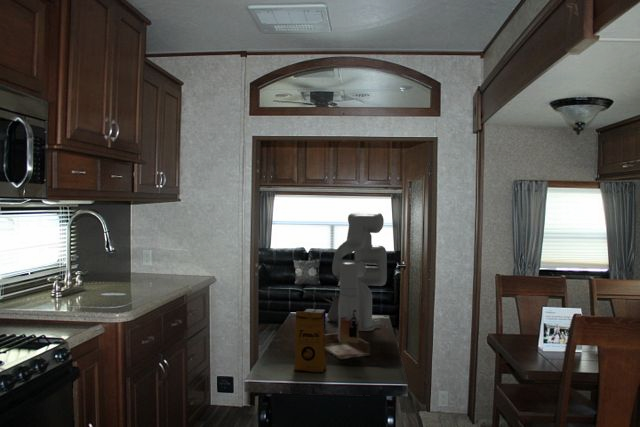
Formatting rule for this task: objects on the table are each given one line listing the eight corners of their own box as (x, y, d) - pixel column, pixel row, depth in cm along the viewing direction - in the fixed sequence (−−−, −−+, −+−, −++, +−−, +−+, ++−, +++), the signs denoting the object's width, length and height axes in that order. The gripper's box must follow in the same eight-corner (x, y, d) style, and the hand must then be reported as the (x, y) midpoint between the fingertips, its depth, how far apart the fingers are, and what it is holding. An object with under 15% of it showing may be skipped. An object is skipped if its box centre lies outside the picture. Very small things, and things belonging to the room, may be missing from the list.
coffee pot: (350, 319, 263) (350, 292, 262) (346, 324, 251) (346, 295, 251) (312, 316, 268) (312, 290, 268) (307, 321, 257) (307, 293, 256)
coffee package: (323, 375, 175) (324, 315, 174) (290, 372, 178) (291, 313, 177) (329, 366, 184) (329, 309, 184) (298, 364, 187) (298, 308, 187)
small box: (339, 342, 196) (339, 317, 196) (337, 339, 202) (338, 314, 202) (358, 342, 197) (359, 317, 197) (356, 338, 203) (357, 314, 202)
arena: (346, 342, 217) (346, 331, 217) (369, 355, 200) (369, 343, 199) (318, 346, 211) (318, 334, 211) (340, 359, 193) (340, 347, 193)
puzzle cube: (321, 334, 231) (322, 314, 231) (301, 333, 233) (301, 312, 233) (325, 329, 241) (325, 309, 241) (306, 328, 243) (306, 308, 243)
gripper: (331, 289, 205) (330, 330, 206) (351, 296, 190) (350, 340, 190) (346, 288, 209) (346, 328, 209) (367, 294, 193) (367, 338, 193)
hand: (348, 334), depth 199 cm, fingers closed on small box, 7 cm apart
